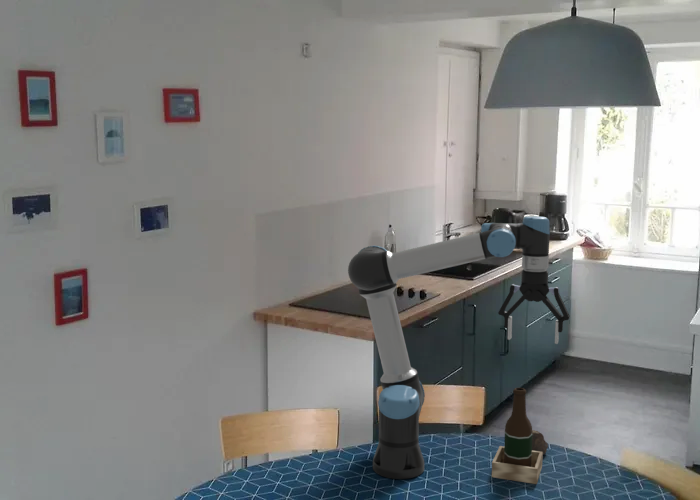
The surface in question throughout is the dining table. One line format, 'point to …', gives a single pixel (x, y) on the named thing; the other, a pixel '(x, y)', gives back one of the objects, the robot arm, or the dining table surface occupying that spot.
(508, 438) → the beer bottle
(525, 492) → the dining table surface
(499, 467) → the caddy
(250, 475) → the dining table surface
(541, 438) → the rock
